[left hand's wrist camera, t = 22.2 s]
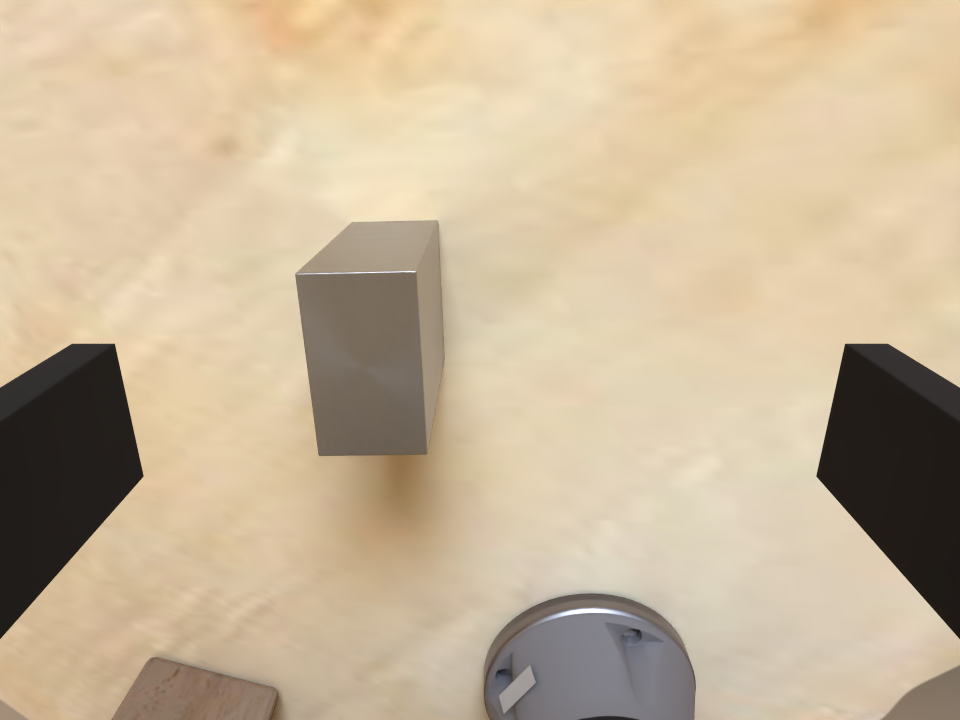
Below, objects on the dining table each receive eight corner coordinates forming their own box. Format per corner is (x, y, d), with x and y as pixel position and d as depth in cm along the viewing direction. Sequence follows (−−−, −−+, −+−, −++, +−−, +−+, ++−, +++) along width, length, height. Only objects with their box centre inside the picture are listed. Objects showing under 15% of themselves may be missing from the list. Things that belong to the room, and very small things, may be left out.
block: (351, 222, 38) (294, 273, 27) (438, 220, 38) (416, 271, 27) (364, 360, 41) (318, 456, 30) (444, 358, 41) (427, 454, 30)
